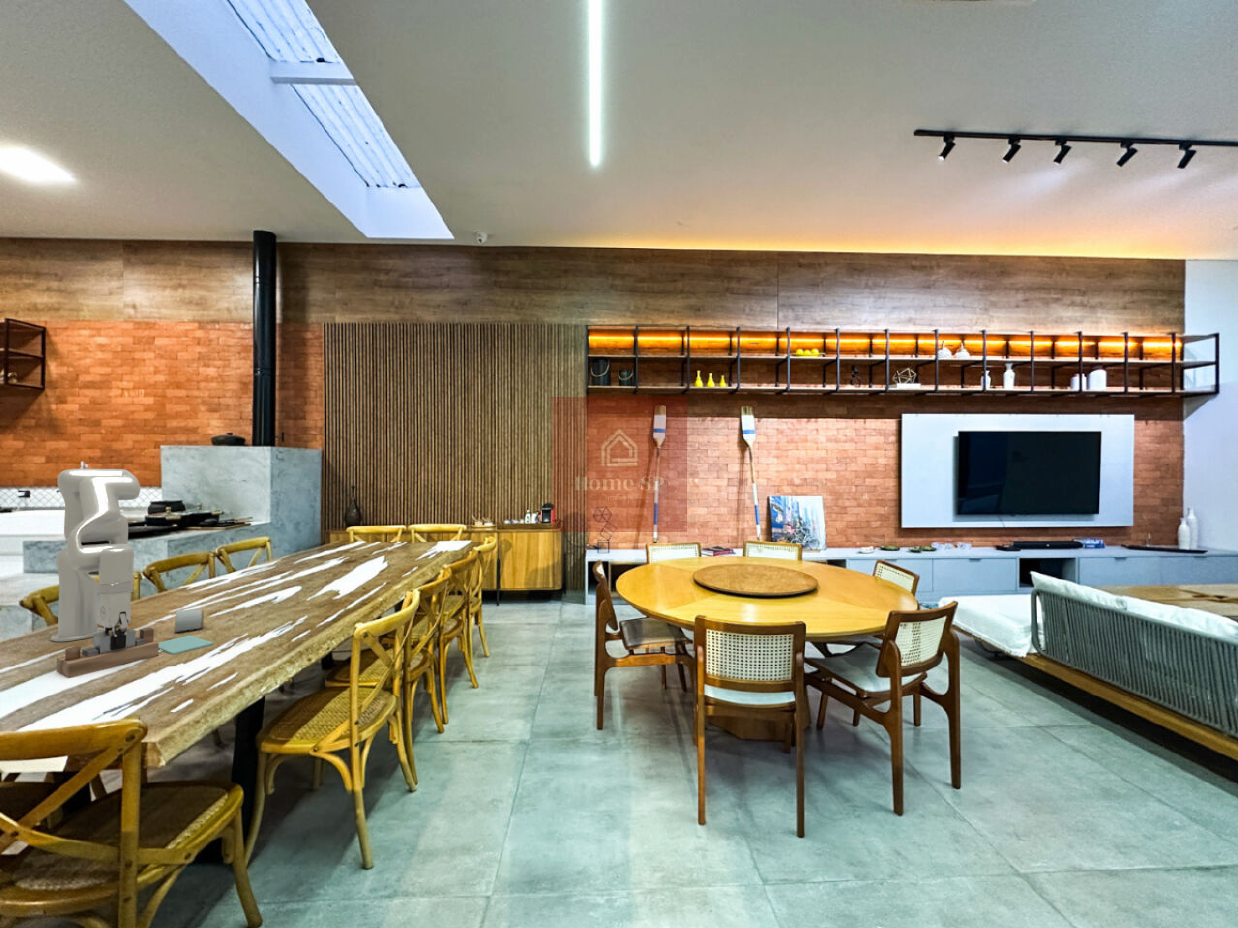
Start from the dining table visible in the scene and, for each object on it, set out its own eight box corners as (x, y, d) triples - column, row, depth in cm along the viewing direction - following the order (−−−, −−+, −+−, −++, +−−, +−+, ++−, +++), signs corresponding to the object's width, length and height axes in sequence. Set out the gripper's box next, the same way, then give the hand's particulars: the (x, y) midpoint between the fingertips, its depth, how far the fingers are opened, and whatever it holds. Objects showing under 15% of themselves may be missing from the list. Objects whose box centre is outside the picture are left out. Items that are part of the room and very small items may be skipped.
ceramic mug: (204, 630, 186) (204, 609, 186) (174, 634, 180) (175, 613, 181) (202, 623, 194) (203, 603, 194) (174, 628, 188) (175, 607, 189)
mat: (150, 646, 169) (150, 644, 169) (190, 636, 178) (190, 635, 178) (173, 654, 161) (173, 652, 161) (213, 644, 171) (213, 642, 171)
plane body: (56, 671, 147) (57, 644, 147) (145, 650, 165) (145, 625, 165) (68, 677, 143) (69, 649, 143) (158, 655, 161) (158, 630, 161)
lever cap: (92, 651, 152) (93, 632, 153) (128, 643, 160) (128, 625, 160) (99, 654, 150) (100, 635, 150) (135, 646, 157) (135, 627, 157)
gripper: (87, 586, 156) (86, 646, 155) (111, 593, 148) (109, 656, 148) (120, 582, 162) (118, 638, 162) (144, 588, 155) (142, 648, 154)
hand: (114, 646), depth 155 cm, fingers closed on lever cap, 5 cm apart
